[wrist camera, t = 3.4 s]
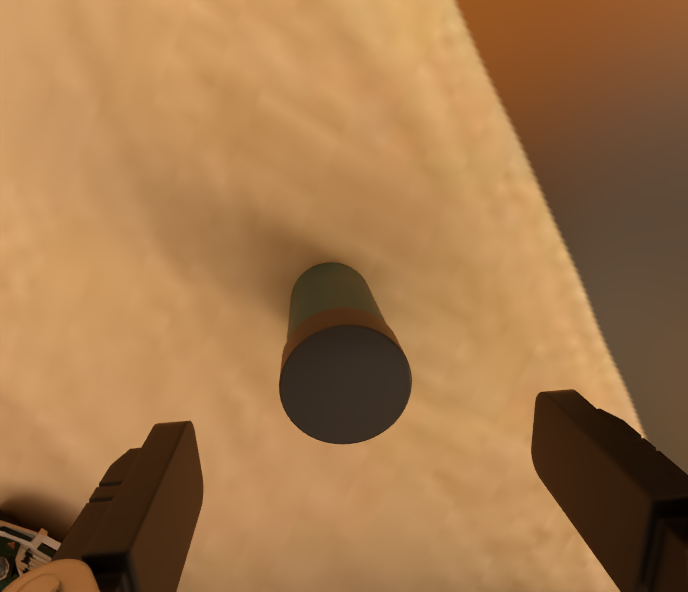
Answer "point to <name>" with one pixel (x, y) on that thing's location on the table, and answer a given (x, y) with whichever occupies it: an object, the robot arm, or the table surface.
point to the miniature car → (21, 550)
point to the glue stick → (341, 359)
